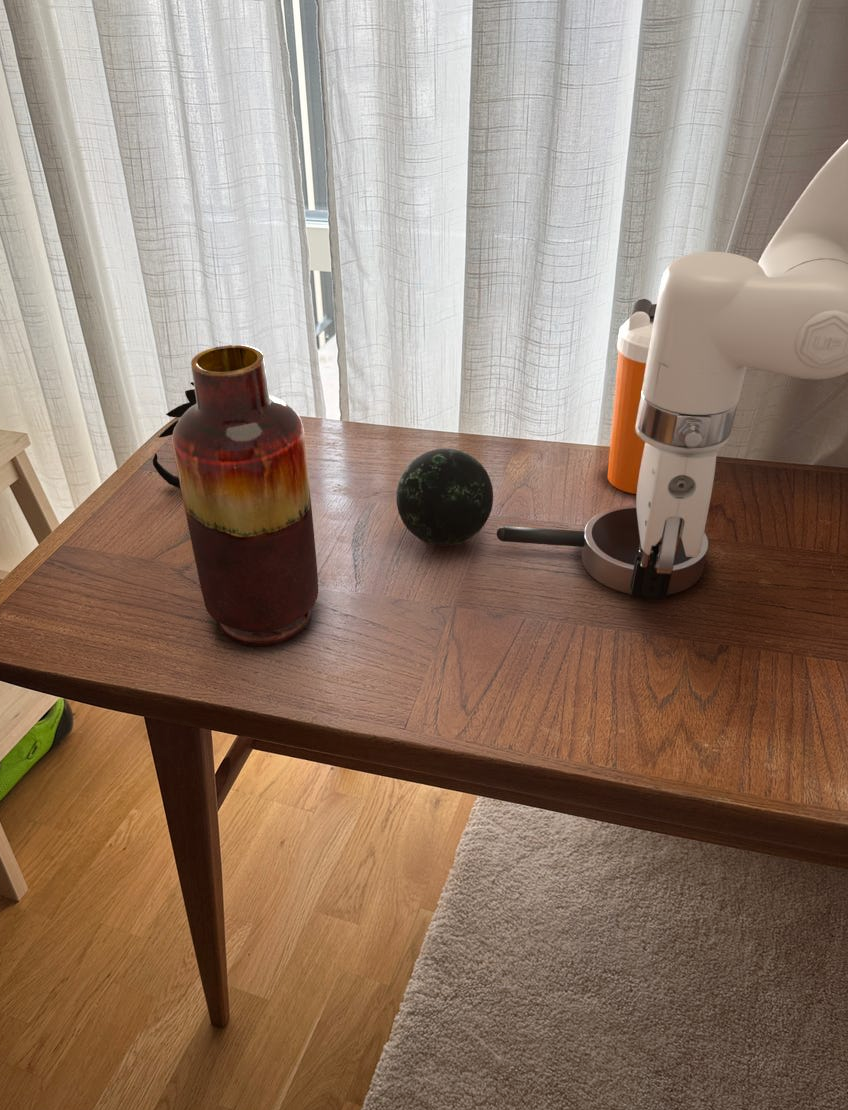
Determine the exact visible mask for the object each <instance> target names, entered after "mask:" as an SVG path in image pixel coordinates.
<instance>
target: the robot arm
mask: <svg viewBox="0 0 848 1110" xmlns="http://www.w3.org/2000/svg"><path fill="white" fill-rule="evenodd" d="M656 304H657V306H656V312H655V317H654V323H653V329H652V335H651V340H650V346H649V352H648V357H647V363H646V369H645V375H644V381H643V386H642V392H641V398H640V403H639V409H638V415H637V421H636V427H635V430H636V433H637V435H638V436H639V437H640V438H641V439H642V440H643V441H645V446H644V451H643V456H642V462H641V467H640V473H639V479H638V486H637V494H636V497H635V505H636V509H637V519H638V527H639V535H640V543H639V553H642V554H636V559H635V564H634V569H633V574H632V579H631V584H630V588H631V594H630V596H631V598H632V599H635V600H645V601H647V600H648V601H661V602H663V601H665V600H666V599H667V596H668V595H667V593H668V588H669V584H670V580H671V575H672V571H673V565H674V561H675V558H676V554H677V551H678V547H679V543H680V540H681V539H682V543H683V547H684V550H685V554H686V557H691V558H696V557H697V556H698V555H699V554H700V550H701V546H702V541H703V535H704V532H705V530H706V525H707V519H708V514H709V509H710V505H711V504H710V503H711V498H712V493H713V492H712V491H713V487H714V479H715V474H716V466H717V465H716V464H717V452H718V450H719V449H721V448H723V447H725V446H726V445H727V444H728V442H729V440H730V437H731V433H732V428H733V425H734V420H735V416H736V412H737V409H738V408H737V407H738V405H739V401H740V396H741V392H742V389H743V384H744V381H745V377H746V373H747V368H750V369H754V370H759V371H764V372H769V373H773V374H777V375H780V376H785V377H790V378H795V379H802V380H826V379H827V380H828V379H832V378H836V377H839V376H842V375H845V374H848V139H846V141H844V143H843V144H841V146H840V147H839V148H837V150H836V151H834V153H833V154H832V155H831V156H830V158H828V160H827V161H826V162H825V163H824V165H823V166H822V167H821V168H820V170H818V171H817V173H816V174H815V175H814V177H813V178H812V179H811V180H810V182H809V184H808V185H807V186H806V188H805V190H803V192H802V193H801V195H800V196H799V198H798V199H797V200H796V202H795V203H794V205H793V207H792V208H791V209H790V211H789V213H788V214H787V215H786V217H785V218H784V219H783V221H782V223H781V224H780V225H779V227H778V229H777V230H776V232H775V233H774V234H773V237H772V238H771V239H770V241H769V242H768V244H767V245H766V247H765V249H764V250H763V253H761V256H760V258H759V260H758V262H757V261H755V260H753V259H752V258H748V257H746V256H743V255H740V254H735V253H732V252H725V251H698V252H692V253H687V254H683V255H681V256H679V257H677V258H676V259H674V260H673V261H671V262H670V263H669V264H668V266H667V267H666V268H665V270H664V272H663V274H662V277H661V280H660V284H659V289H658V295H657V299H656Z"/></svg>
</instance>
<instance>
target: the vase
mask: <svg viewBox="0 0 848 1110" xmlns="http://www.w3.org/2000/svg"><path fill="white" fill-rule="evenodd" d="M265 363H266V362H265V357H264V354H263V353H262V351H261V350H259V349H258V348H255V347H253V346H249V345H243V344H228V345H226V344H225V345H220V346H214V347H211V348H208V349H205V350H203V351H200V352H199V353H197V354H196V355H195V356H194V357H192V359H191V362H190V366H191V375H192V380H193V381H192V382H194V386H193V389H195V395H196V401H197V404H195V405H193V406H192V407H190V408H189V409H188V410H187V411H186V412H185V413H184V414H183V415H182V417H179V419H178V420H179V421H178V423H177V424H176V426H175V428H174V431H173V435H171V442H172V449H173V455H174V460H175V467H176V471H177V476H178V477H179V482H180V487H181V489H180V492H181V496H182V502H183V507H184V511H185V516H186V522H187V527H188V532H189V537H190V542H191V547H192V553H193V556H194V561H195V566H196V567H195V568H196V571H197V572H196V573H197V575H198V576H197V577H198V581H199V586H200V587H199V588H200V592H201V595H202V599H203V603H204V607H205V609H206V612H208V614H209V615H210V616H211V618H213V620H214V621H216V622H217V624H218V626H219V630H220V631H221V633H222V634H223V635H224V636H225V637H226V638H227V639H229V640H231V641H232V642H234V643H237V644H240V645H243V646H247V647H248V646H249V647H269V646H275V645H278V644H281V643H285V642H287V641H289V640H291V639H293V638H295V637H296V636H298V635H299V634H301V633H302V632H303V631H304V630H305V629H306V628H307V626H308V625H309V623H310V620H311V616H312V608H313V607H314V606H315V603H316V602H317V599H318V596H319V577H318V575H319V574H318V562H317V551H316V540H315V539H316V538H315V530H314V518H313V508H312V507H313V506H312V498H311V497H312V496H311V487H310V485H311V484H310V477H309V467H308V466H309V465H308V455H307V446H306V438H305V437H306V436H305V429H304V428H305V427H304V424H303V421H302V418H301V416H300V415H299V414H298V413H297V411H296V410H295V409H294V408H293V407H292V406H290V405H289V404H288V403H286V402H285V401H284V400H283V399H280V398H279V397H276V396H274V395H271V394H270V390H269V384H268V377H267V370H266V364H265Z"/></svg>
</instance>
